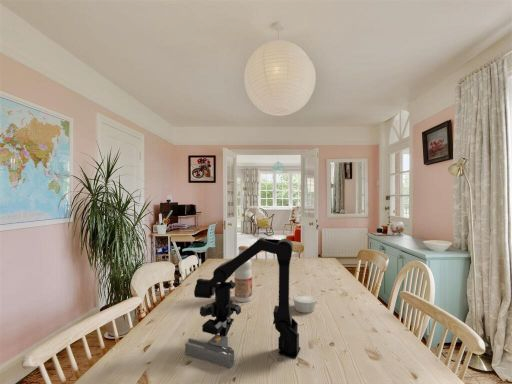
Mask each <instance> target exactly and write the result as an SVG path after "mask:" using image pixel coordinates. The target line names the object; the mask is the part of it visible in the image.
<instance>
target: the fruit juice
mask: <svg viewBox="0 0 512 384" xmlns="http://www.w3.org/2000/svg"><path fill="white" fill-rule="evenodd" d="M247 248H248V246H246V245H240V246H238V251H239V252H238V255H239V254H240V253H242V252H243V251H244V250H246V249H247ZM252 264H253V263H252V259H249V260H248V261H247V262H245V263H244V264H243V265H241V266H240V267H239V268H237V270H236V271H235V272H234V283H235V284H236V286H235V287H234V300H235V301H236V302H238V303H248V302H250V301H252V298H253V272H252Z"/></svg>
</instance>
